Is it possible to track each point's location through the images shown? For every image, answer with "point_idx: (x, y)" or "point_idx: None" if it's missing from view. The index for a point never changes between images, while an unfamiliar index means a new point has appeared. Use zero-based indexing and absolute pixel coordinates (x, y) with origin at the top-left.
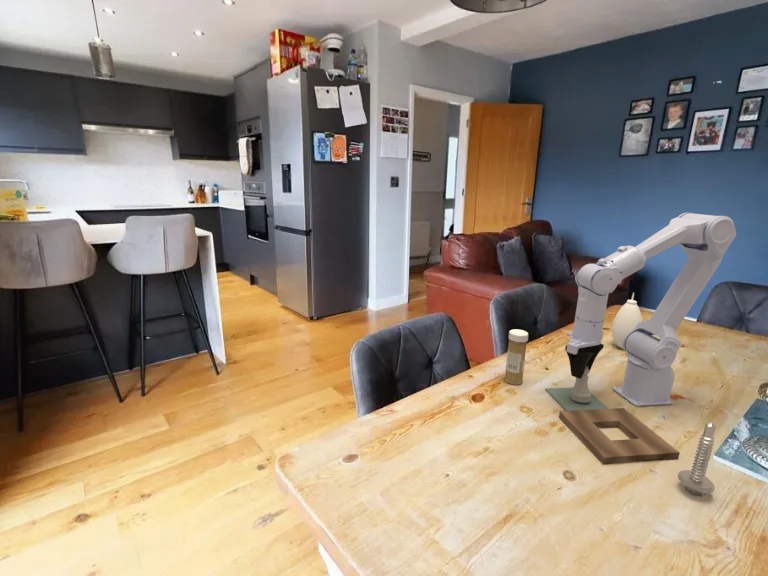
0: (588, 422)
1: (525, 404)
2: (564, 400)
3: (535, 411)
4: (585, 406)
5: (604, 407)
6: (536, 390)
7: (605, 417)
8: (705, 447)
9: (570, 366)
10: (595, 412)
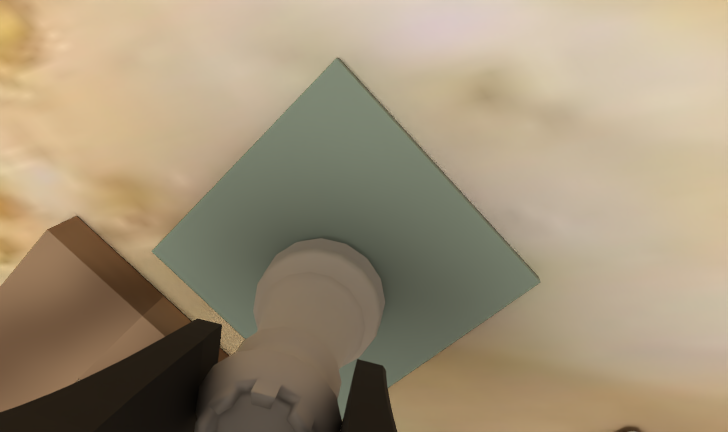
0: (62, 365)
1: (52, 5)
2: (256, 211)
3: (30, 88)
4: None
5: None
6: (289, 2)
7: None
8: None
9: (121, 360)
10: None
